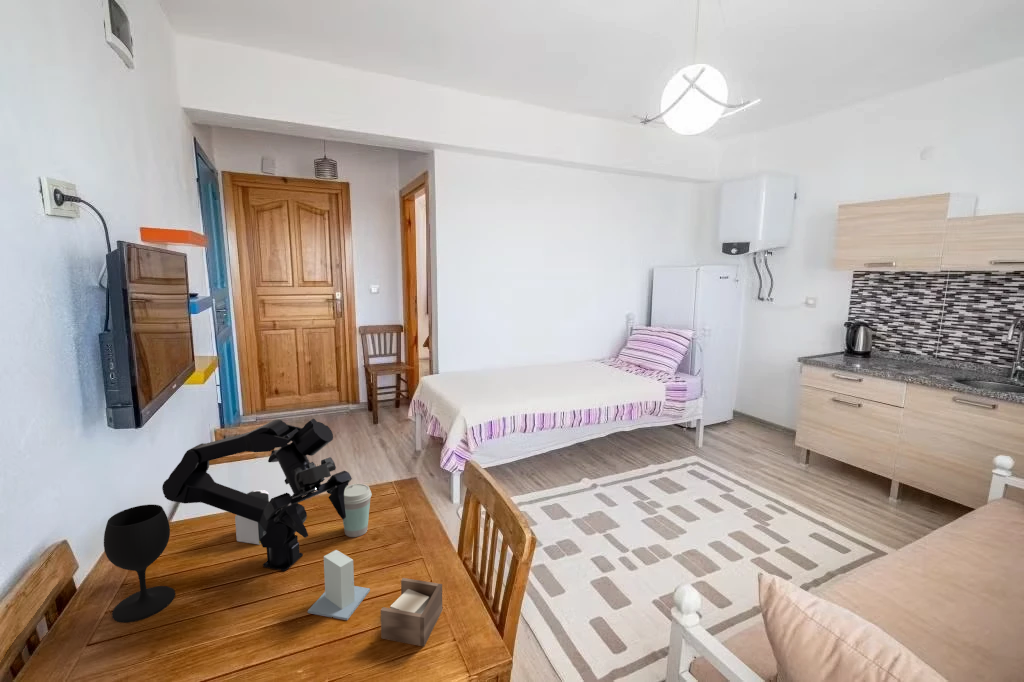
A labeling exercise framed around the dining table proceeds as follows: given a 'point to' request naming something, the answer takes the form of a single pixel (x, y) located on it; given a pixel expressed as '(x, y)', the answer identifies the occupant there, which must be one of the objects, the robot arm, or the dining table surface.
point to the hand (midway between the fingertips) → (326, 527)
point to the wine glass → (138, 557)
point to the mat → (332, 610)
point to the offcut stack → (411, 602)
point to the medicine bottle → (250, 523)
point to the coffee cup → (356, 509)
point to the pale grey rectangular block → (339, 579)
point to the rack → (413, 615)
